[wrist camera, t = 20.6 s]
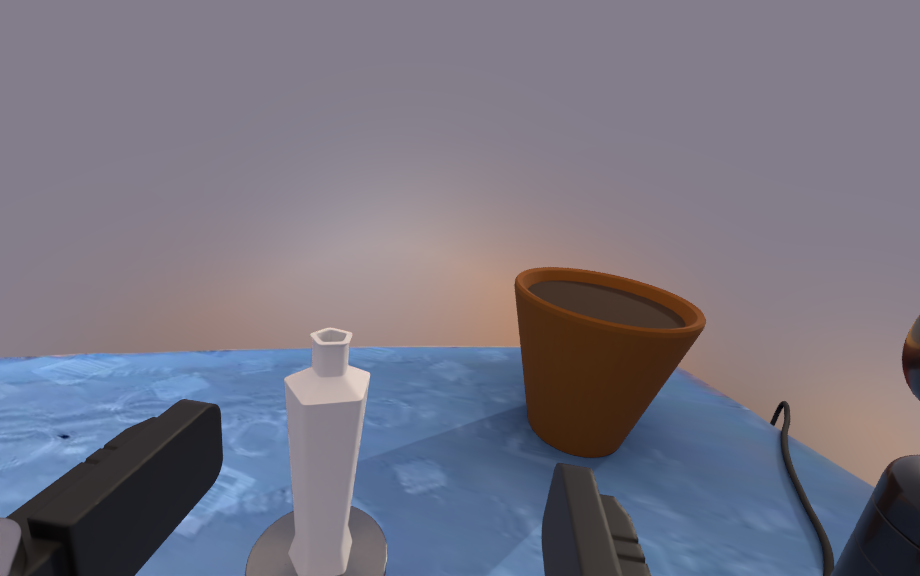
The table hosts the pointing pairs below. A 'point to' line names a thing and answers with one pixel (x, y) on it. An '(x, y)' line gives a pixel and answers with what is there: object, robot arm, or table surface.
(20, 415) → the table surface
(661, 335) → the flower pot
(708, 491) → the table surface
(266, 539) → the tin can
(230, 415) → the table surface
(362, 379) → the perfume bottle
